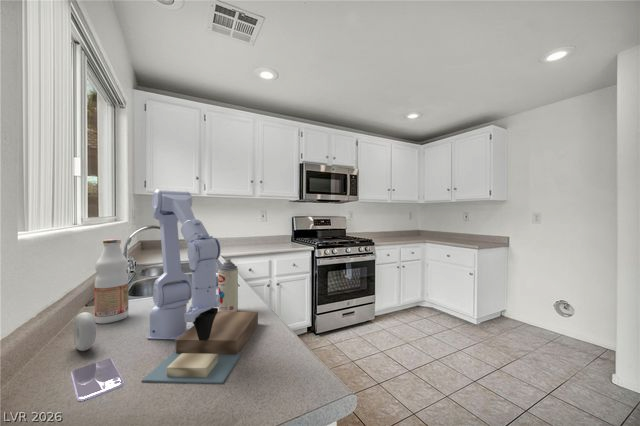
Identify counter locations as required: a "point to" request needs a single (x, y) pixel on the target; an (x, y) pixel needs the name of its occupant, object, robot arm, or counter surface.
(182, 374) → the wooden tile
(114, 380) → the mobile phone
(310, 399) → the counter surface
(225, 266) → the aerosol can
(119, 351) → the counter surface
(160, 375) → the slate mat
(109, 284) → the fruit juice
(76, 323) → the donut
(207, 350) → the board
